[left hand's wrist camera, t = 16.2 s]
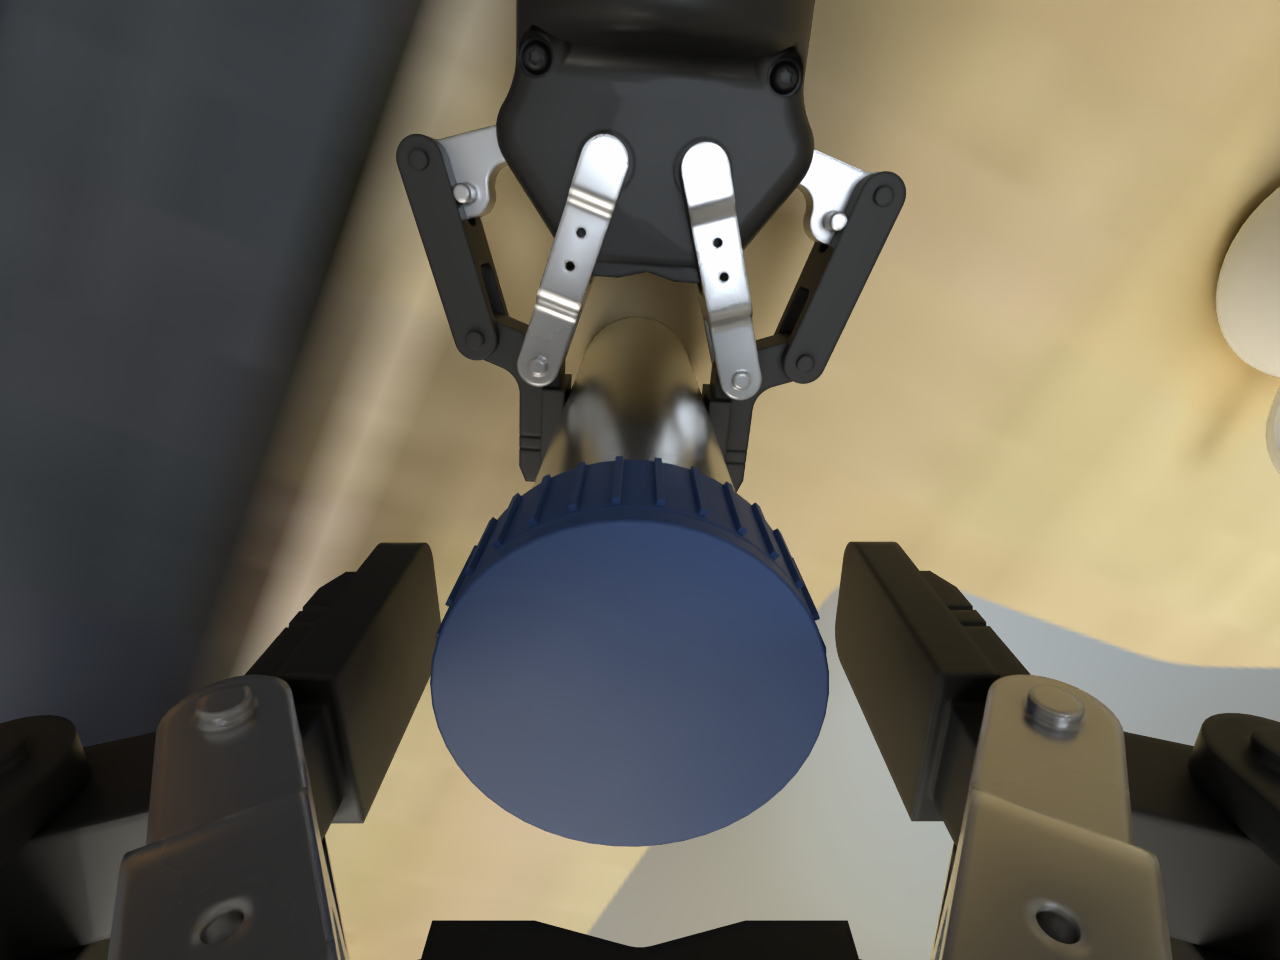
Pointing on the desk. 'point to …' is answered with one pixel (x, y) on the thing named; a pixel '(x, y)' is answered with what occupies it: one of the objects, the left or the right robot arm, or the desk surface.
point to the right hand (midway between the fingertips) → (630, 494)
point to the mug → (1255, 302)
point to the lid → (630, 657)
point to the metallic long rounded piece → (635, 405)
